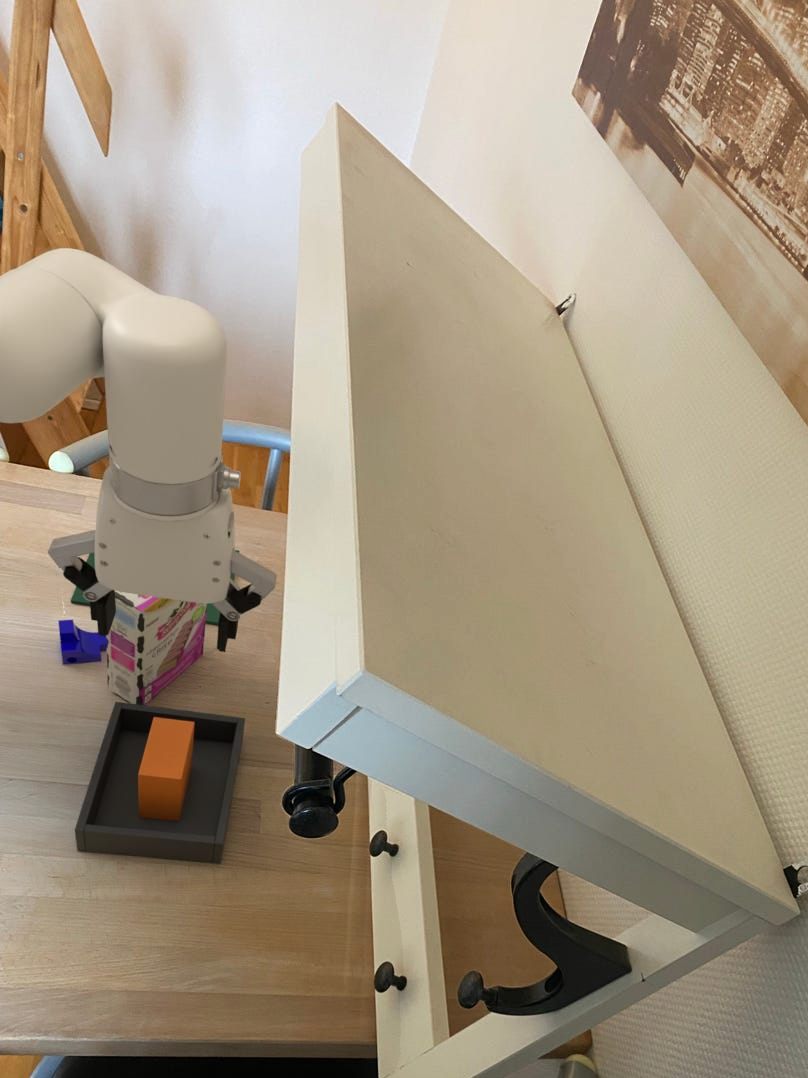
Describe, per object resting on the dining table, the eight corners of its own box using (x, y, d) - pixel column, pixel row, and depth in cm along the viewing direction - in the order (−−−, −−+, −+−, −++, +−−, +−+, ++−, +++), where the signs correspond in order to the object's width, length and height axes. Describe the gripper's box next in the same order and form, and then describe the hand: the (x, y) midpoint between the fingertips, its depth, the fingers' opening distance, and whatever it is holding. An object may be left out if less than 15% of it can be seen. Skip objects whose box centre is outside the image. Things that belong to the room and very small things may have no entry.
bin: (77, 853, 83) (74, 830, 80) (116, 725, 93) (115, 701, 90) (220, 865, 86) (223, 844, 83) (242, 741, 97) (245, 717, 94)
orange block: (138, 817, 87) (137, 774, 81) (153, 761, 91) (153, 716, 86) (179, 821, 88) (181, 779, 82) (191, 765, 92) (194, 721, 87)
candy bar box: (142, 713, 95) (141, 613, 84) (106, 691, 96) (100, 589, 85) (206, 656, 103) (213, 557, 92) (173, 636, 104) (176, 535, 93)
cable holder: (63, 666, 97) (60, 643, 94) (60, 643, 99) (58, 620, 96) (138, 659, 100) (137, 637, 97) (134, 637, 102) (134, 615, 99)
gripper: (291, 464, 66) (272, 616, 78) (53, 421, 62) (71, 587, 74) (281, 526, 61) (262, 678, 73) (20, 483, 57) (46, 650, 69)
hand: (166, 632), depth 73 cm, fingers open, 9 cm apart
